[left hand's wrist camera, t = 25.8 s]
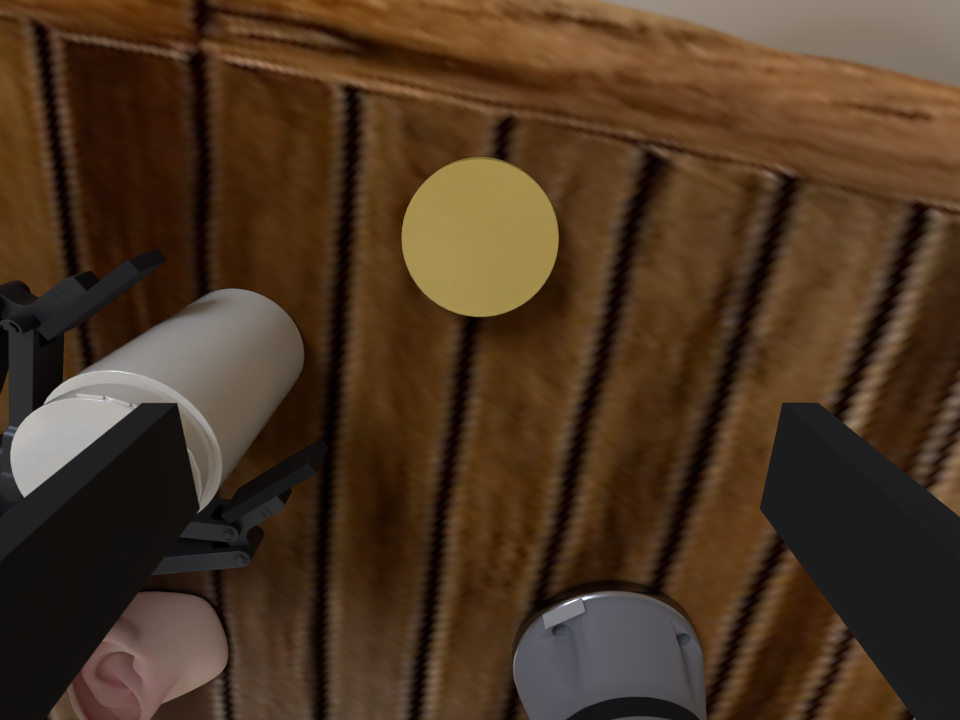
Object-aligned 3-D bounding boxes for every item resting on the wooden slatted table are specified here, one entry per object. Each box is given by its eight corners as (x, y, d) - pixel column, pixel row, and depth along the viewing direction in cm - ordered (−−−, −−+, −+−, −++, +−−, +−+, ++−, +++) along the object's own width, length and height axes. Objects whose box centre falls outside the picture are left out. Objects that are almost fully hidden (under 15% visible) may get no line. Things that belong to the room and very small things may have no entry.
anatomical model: (162, 612, 41) (243, 716, 45) (188, 572, 45) (261, 671, 49) (10, 661, 43) (101, 756, 47) (46, 619, 47) (128, 710, 51)
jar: (306, 407, 40) (210, 562, 26) (186, 398, 39) (24, 550, 25) (302, 293, 37) (192, 399, 23) (173, 283, 36) (-21, 382, 22)
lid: (396, 163, 34) (391, 166, 32) (551, 150, 33) (556, 152, 31) (415, 311, 37) (411, 322, 35) (556, 300, 37) (561, 311, 35)
